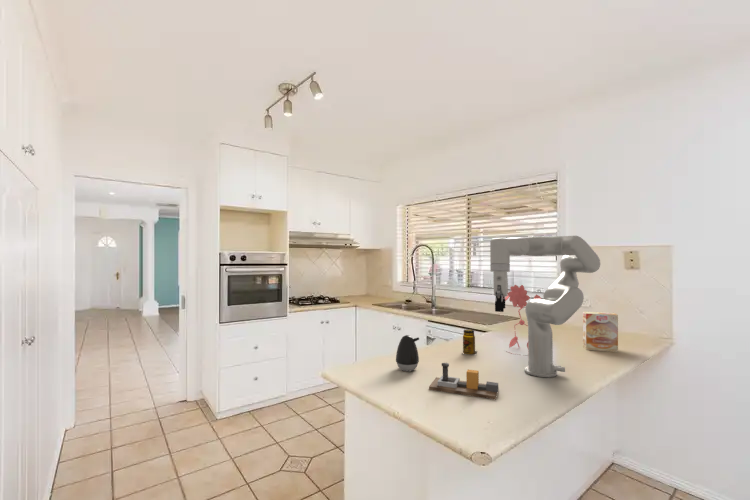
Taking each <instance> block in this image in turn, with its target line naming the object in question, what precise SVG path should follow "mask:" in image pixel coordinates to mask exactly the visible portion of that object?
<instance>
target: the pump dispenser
mask: <svg viewBox="0 0 750 500" xmlns="http://www.w3.org/2000/svg"><path fill="white" fill-rule="evenodd" d="M417 341H420V337H415V338H413V337H412V336H411V335H409V334H406V335H404V336H402V337H401V339H400V341H399V342H398V346H397V350H396V355H395V362H396V365H397V367H398V368H399V370H401V371H403V372H412V371H414V370H416V369H417V367H418V364H419V363H420V357H419V351H418V346H417V344H416V342H417Z"/></svg>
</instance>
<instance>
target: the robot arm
mask: <svg viewBox="0 0 750 500" xmlns="http://www.w3.org/2000/svg"><path fill="white" fill-rule="evenodd" d="M489 246H490V247H489V248H490V251H489V253H490V254H489V255H490V257H489V258H490V262H489V263H490V264H489V265H490V267H489V268H490V269H489V270H490V272H492V273H493V277H492V278H493V281H492V282H493V294H494V297H495V301H494V311H495V312H496V313H497V312H498V313H503V312H504V309H506V301H505V297H506V296H508V293H509V285H508V284H509V283H508V281H509V278H508V273H509V272H511V266H510V265H511V264H510V263H511V262H510V261H511V257H510V256H514V257H515V256H516V257H517V256H530V257H547V256H548V257H549V256H550V257H551V256H561V257H562V258H561V259H560V263H559V264H560V275H559V277H558V278H557V279H556V280H555V281H554V282H553V283H552V284H551V285H550V286H549V287H547V288H546V289H545V291H544V292H543V296H542V297H543V298H541V299H534V298H533V299H531V300H530V299H529V300H528V301H527V305H526V306H525V316H526V321H527V325H528V326H527V334H528V335H527V336H528V337H527V343H528V348H527V349H528V350H527V351H528V356H527V358H528V366H525V367H524V372H525V373H526V374H529V375H531V376H534V377H537V378H538V377H539V378H554V377H556V376H557V375H558V372H561V373H565V372H566V368H565V366H562V365H556V364H555V363H554V361H553V359H554V358H553V357H554V355H553V353H554V351H553V349H554V347H553V346H554V345H553V330H552V326H551V325H555V326H560V325H563V324H565V323H566V322H567V321H568V320H569V319H570V318H571V317H573V316H574V314H575V313H577V312H578V311H579V309H580V308H581V307H582V305H583V303H584V299H585V298H584V292H583V291H582V290H581V289H580V288H579V284H580V283H579V280H578V277H577V273H582V274H583V273H586V274H591V273H592V274H593V273H595V272H598V270H600V268H601V259H600V258H599V256H598V254H597V253H596V252H595V250H594V249H593V248H592V247H591V246H590V244H588V243H587V241H586V240H585V239H584V238H582V236H579V235H562V236H561V235H560V236H546V235H544V236H543V235H541V236H531V237H530V236H529V237H507V238H506V237H494V238H491V239H490V243H489Z"/></svg>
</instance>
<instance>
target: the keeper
mask: <svg viewBox="0 0 750 500" xmlns="http://www.w3.org/2000/svg"><path fill="white" fill-rule="evenodd" d="M441 367H442V376H443V381H445V382H448V377H449V367H450V363H448V362H442V363H441ZM439 379H440V377H437V376H436V377H434V379H433V381H432V382H431V383H430V385H429V386H428V390H429V391H435V392H442V393H450V394H456V395H463V396H469V397H476V398H483V399H489V400H494V399H495V401H496V400H497V397H496V396H498V393H497V392H492V391H486V390H480V389H471V388H466V387H459V386H457V388H450V387H443V386H438V380H439ZM460 382H465V383H467V380H460ZM452 383H454V382H452ZM479 384H480V385H486V383H480V382H479Z"/></svg>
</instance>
